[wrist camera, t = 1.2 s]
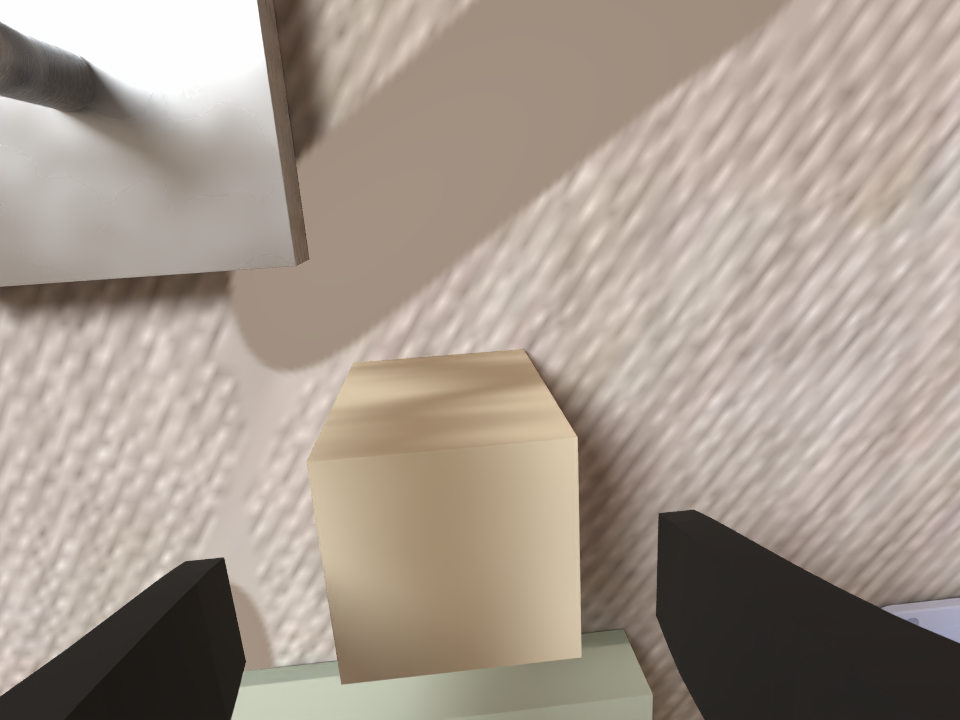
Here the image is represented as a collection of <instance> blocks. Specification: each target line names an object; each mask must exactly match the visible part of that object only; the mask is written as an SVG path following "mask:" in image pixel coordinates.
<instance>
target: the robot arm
mask: <svg viewBox="0 0 960 720" xmlns="http://www.w3.org/2000/svg"><path fill="white" fill-rule="evenodd" d="M656 616H657V619H658V621H659V624H660V627H661V629H662V632H663V634H664V637H665V639H666V642H667V645H668V647H669V650H670V652H671V654H672V657H673V659H674V661H675V664H676V666H677V669H678V671H679V673H680V675H681V677H682V679H683V681H684V683H685V685H686V686H687V688H688V690H689V692H690V694H691V696H692V698H693V699H694V701H695V703H696V705H697V707H698V709H699V710H700V712H701V714H702V716H703V718H704V720H960V598H952V599H943V600H934V601H925V602H916V603H907V604H898V605H890V606H885V607H882V608H879V607H877V606H875V605H873V604H871V603H869V602H867V601H865V600H863V599H861V598H858V597H856V596H854V595H852V594H850V593H848V592H846V591H844V590H842V589H840V588H838V587H836V586H834V585H832V584H831V583H829V582H827V581H825V580H823V579H821V578H819V577H817V576H815V575H813V574H811V573H810V572H808V571H806V570H804V569H802V568H800V567H798V566H797V565H795V564H793V563H791V562H789V561H787V560H786V559H784V558H782V557H780V556H778V555H777V554H775V553H773V552H771V551H769V550H768V549H766V548H764V547H762V546H760V545H759V544H757V543H755V542H753V541H752V540H750V539H748V538H746V537H744V536H743V535H741V534H739V533H737V532H736V531H734V530H732V529H730V528H728V527H727V526H725V525H723V524H721V523H719V522H717V521H716V520H714V519H712V518H710V517H708V516H706V515H704V514H702V513H700V512H698V511H695V510H686V511H677V512H667V513H659V521H658V560H657V600H656ZM245 663H246V660H245V655H244V650H243V646H242V641H241V636H240V631H239V627H238V622H237V617H236V612H235V607H234V603H233V598H232V593H231V588H230V584H229V579H228V574H227V569H226V564H225V560H224V558H214V559H204V560H194V561H185V562H184V563H182V564H181V565H179V566H178V567H176V568H174V569H173V570H172V571H170V572H169V573H167V574H166V575H165V576H163V577H162V578H160V579H159V580H158V581H156V582H155V583H154V584H152V585H151V586H150V587H148V588H147V589H146V590H144V591H143V592H142V593H140V594H139V595H138V596H136V597H135V598H134V599H132V600H131V601H130V602H128V603H127V604H126V605H125V606H123V607H122V608H121V609H119V610H118V611H117V612H115V613H114V614H113V615H111V616H110V617H109V618H107V619H106V620H105V621H103V622H102V623H101V624H100V625H98V626H97V627H96V628H94V629H93V630H92V631H90V632H89V633H88V634H86V635H85V636H84V637H82V638H81V639H80V640H78V641H77V642H76V643H74V644H73V645H72V646H70V647H69V648H68V649H66V650H65V651H64V652H62V653H61V654H60V655H58V656H57V657H55V658H54V659H52V660H51V661H50V662H48V663H47V664H45V665H44V666H43V667H41V668H40V669H38V670H37V671H36V672H34V673H33V674H31V675H30V676H29V677H27V678H26V679H24V680H23V681H21V682H20V683H19V684H17V685H16V686H14V687H13V688H12V689H10V690H9V691H7V692H6V693H5V694H3V695H2V696H0V720H231V718H232V714H233V711H234V707H235V703H236V700H237V696H238V692H239V688H240V684H241V680H242V675H243V671H244V667H245Z"/></svg>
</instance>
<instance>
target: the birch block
mask: <svg viewBox="0 0 960 720" xmlns="http://www.w3.org/2000/svg"><path fill="white" fill-rule="evenodd" d="M307 469H308V475H309V481H310V488H311V494H312V501H313V507H314V513H315V520H316V526H317V532H318V539H319V545H320V552H321V558H322V564H323V571H324V577H325V584H326V590H327V596H328V603H329V609H330V616H331V622H332V628H333V635H334V641H335V648H336V654H337V660H338V667H339V673H340V680H341V685H344V684H353V683H362V682H370V681H379V680H388V679H397V678H406V677H414V676H423V675H432V674H441V673H450V672H458V671H467V670H476V669H485V668H494V667H502V666H511V665H520V664H529V663H537V662H546V661H555V660H564V659H573V658H581V599H580V541H579V483H578V437H577V436H576V434H575V432H574V431H573V429H572V427H571V426H570V424H569V423H568V421H567V419H566V418H565V416H564V414H563V413H562V411H561V409H560V408H559V406H558V405H557V403H556V401H555V400H554V398H553V396H552V395H551V393H550V391H549V390H548V388H547V387H546V385H545V383H544V382H543V380H542V378H541V377H540V375H539V373H538V372H537V370H536V369H535V367H534V365H533V364H532V362H531V360H530V359H529V357H528V355H527V354H526V352H525V351H524V349H519V350H506V351H494V352H482V353H469V354H457V355H444V356H432V357H419V358H407V359H395V360H382V361H370V362H357V363H353V365H352V367H351V369H350V371H349V373H348V375H347V378H346V380H345V382H344V384H343V386H342V388H341V390H340V392H339V394H338V397H337V399H336V401H335V403H334V405H333V407H332V409H331V411H330V413H329V416H328V418H327V420H326V422H325V424H324V426H323V428H322V430H321V433H320V435H319V437H318V439H317V441H316V443H315V445H314V447H313V449H312V452H311V454H310V456H309V458H308V460H307Z"/></svg>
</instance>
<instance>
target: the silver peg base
mask: <svg viewBox="0 0 960 720" xmlns="http://www.w3.org/2000/svg"><path fill="white" fill-rule="evenodd" d="M307 260H309V254H308V247H307V240H306V233H305V225H304V218H303V211H302V204H301V197H300V190H299V182H298V175H297V168H296V161H295V154H294V147H293V140H292V132H291V125H290V118H289V111H288V104H287V97H286V90H285V82H284V75H283V68H282V61H281V54H280V47H279V40H278V32H277V25H276V18H275V11H274V4H273V0H0V287H2V286H17V285H31V284H45V283H59V282H74V281H88V280H102V279H116V278H131V277H145V276H159V275H173V274H188V273H202V272H216V271H230V270H245V269H259V268H271V267H272V268H273V267H287V266H297V265H299V264H300V263H303V262H305V261H307Z"/></svg>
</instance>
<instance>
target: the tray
mask: <svg viewBox="0 0 960 720" xmlns="http://www.w3.org/2000/svg"><path fill="white" fill-rule="evenodd" d="M652 709H653V694H652V692H651V690H650V687H649V685H648V683H647V681H646V678H645V676H644V674H643V672H642V669H641V667H640V665H639V663H638V660H637V658H636V656H635V654H634V651H633V649H632V647H631V645H630V642H629V640H628V638H627V636H626V634H625V631H624V629H620V630H611V631H602V632H593V633H584V634H581V658H573V659H564V660H555V661H546V662H537V663H529V664H520V665H511V666H502V667H494V668H485V669H476V670H467V671H458V672H450V673H441V674H432V675H423V676H414V677H406V678H397V679H388V680H379V681H370V682H362V683H353V684H344V685H341V680H340V673H339V667H338V661H332V662H323V663H314V664H305V665H296V666H287V667H278V668H270V669H260V670H251V671H243V675H242V680H241V684H240V688H239V692H238V696H237V700H236V703H235V707H234V711H233V714H232V718H231V720H652Z"/></svg>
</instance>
